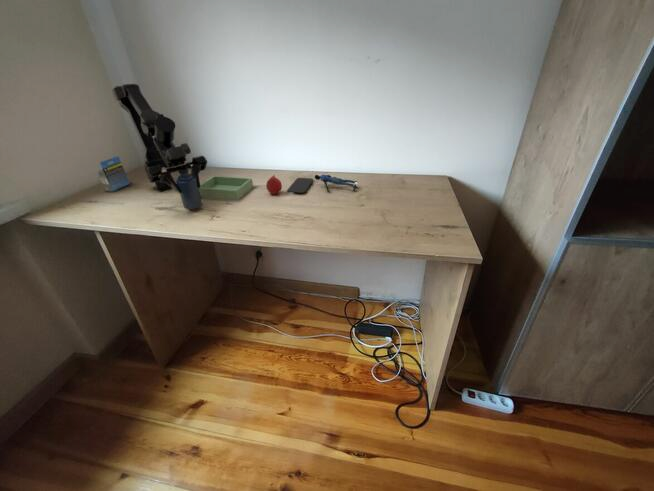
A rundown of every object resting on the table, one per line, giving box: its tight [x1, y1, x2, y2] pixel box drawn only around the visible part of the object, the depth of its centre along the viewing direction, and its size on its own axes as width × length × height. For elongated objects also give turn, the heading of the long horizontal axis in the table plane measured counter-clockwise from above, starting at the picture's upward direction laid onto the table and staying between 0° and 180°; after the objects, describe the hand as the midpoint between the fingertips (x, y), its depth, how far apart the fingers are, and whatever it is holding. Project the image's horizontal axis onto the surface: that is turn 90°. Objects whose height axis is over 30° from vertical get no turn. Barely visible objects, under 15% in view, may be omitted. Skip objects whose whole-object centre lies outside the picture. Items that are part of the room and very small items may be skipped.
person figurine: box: [314, 174, 359, 193], centre depth 119 cm, size 11×4×18 cm
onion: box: [265, 174, 283, 196], centre depth 113 cm, size 6×6×8 cm
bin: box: [199, 175, 254, 201], centre depth 117 cm, size 17×13×4 cm
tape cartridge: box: [97, 155, 131, 193], centre depth 122 cm, size 9×4×12 cm, turn 164°
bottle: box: [175, 167, 203, 210], centre depth 100 cm, size 6×6×13 cm
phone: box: [286, 177, 314, 195], centre depth 122 cm, size 7×1×15 cm
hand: (190, 190), depth 100 cm, fingers closed on bottle, 6 cm apart
